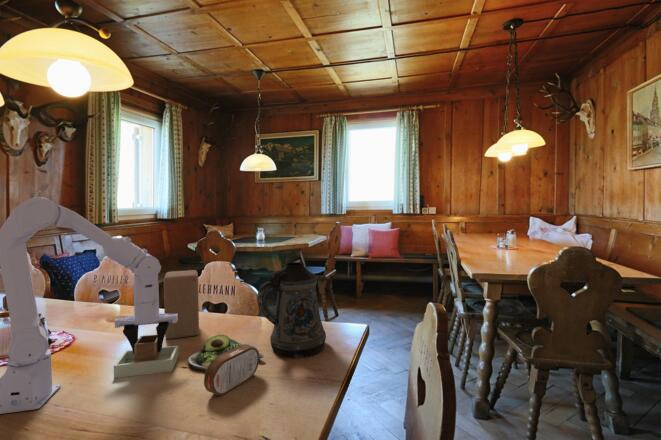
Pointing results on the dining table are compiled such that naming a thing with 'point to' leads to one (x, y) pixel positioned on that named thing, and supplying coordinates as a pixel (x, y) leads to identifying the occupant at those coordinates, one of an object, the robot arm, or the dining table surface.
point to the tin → (231, 369)
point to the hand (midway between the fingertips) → (147, 351)
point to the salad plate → (213, 351)
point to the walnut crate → (146, 349)
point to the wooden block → (182, 303)
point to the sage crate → (146, 363)
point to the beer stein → (293, 312)
